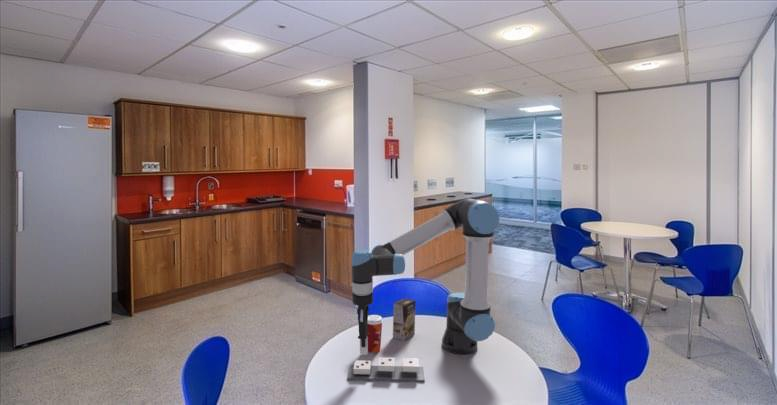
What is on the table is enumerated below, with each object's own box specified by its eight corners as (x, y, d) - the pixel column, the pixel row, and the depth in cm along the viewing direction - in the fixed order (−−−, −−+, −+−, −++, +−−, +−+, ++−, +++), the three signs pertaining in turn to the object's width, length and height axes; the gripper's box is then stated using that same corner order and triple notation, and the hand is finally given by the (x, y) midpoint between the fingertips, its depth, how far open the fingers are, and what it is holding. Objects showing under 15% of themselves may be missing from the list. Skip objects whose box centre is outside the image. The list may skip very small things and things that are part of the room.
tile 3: (371, 365, 147) (371, 360, 147) (369, 374, 141) (369, 368, 141) (355, 365, 147) (355, 360, 147) (353, 373, 141) (353, 368, 141)
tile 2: (394, 362, 147) (394, 357, 146) (394, 371, 141) (394, 365, 140) (378, 362, 147) (378, 357, 147) (377, 370, 141) (378, 365, 141)
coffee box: (404, 341, 171) (404, 306, 169) (392, 337, 175) (392, 303, 173) (415, 333, 179) (415, 300, 177) (403, 330, 182) (404, 297, 181)
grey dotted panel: (423, 368, 148) (423, 366, 148) (424, 382, 139) (424, 379, 139) (350, 367, 149) (350, 364, 149) (347, 380, 140) (347, 377, 140)
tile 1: (418, 363, 146) (418, 357, 146) (419, 371, 140) (419, 366, 140) (402, 362, 147) (402, 357, 146) (402, 371, 141) (402, 365, 140)
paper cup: (380, 355, 158) (380, 322, 157) (362, 353, 160) (362, 320, 159) (384, 346, 166) (384, 314, 165) (367, 344, 168) (367, 313, 166)
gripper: (354, 286, 148) (355, 345, 150) (350, 298, 135) (351, 362, 137) (374, 286, 147) (375, 345, 150) (371, 298, 134) (372, 362, 137)
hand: (363, 353), depth 144 cm, fingers closed
